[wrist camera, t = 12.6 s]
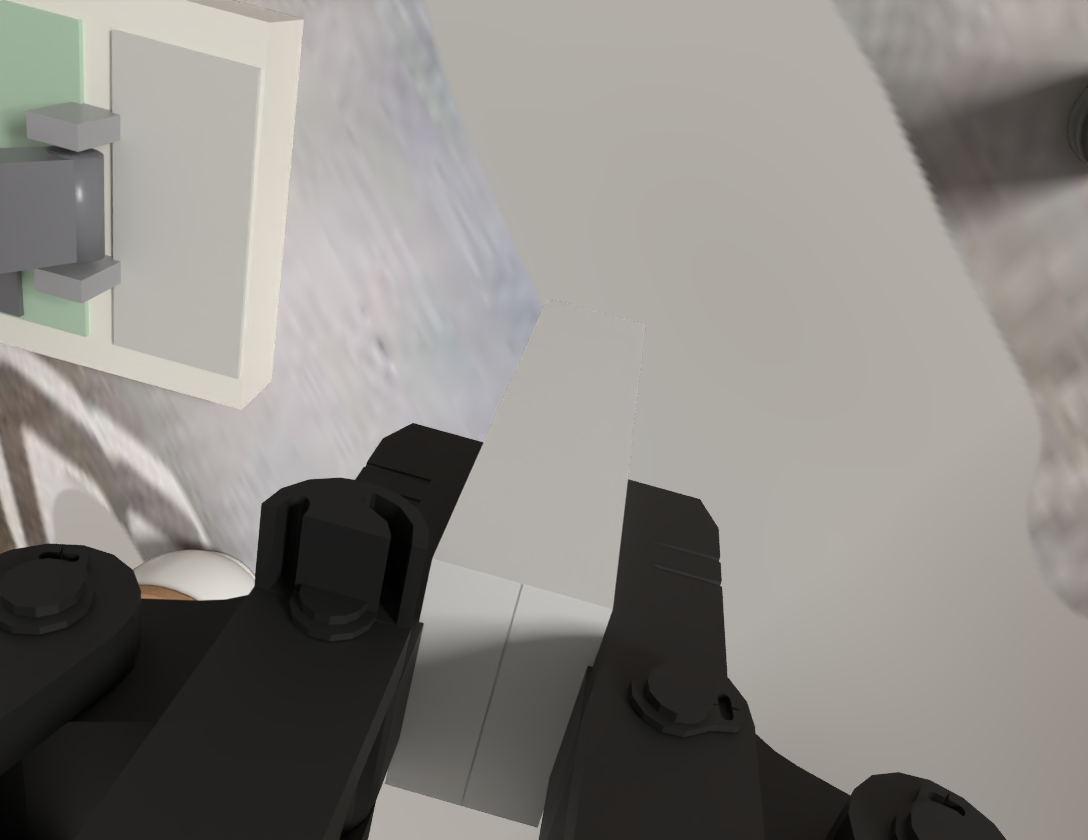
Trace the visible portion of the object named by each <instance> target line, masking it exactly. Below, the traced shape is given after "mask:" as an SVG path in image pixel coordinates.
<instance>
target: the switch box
mask: <svg viewBox="0 0 1088 840" xmlns="http://www.w3.org/2000/svg"><path fill="white" fill-rule="evenodd" d="M303 26H304V19H300V18H297V17H293V16H289V15H285V14H282V13H278V12H274V11H270V10H267V9H263V8H259V7H255V6H251V5H248V4H244V3H240V2H236V1H233V0H0V148H18V147H44V146H51V145H55V146H58V147H62V148H66V149H69V150H73V151H77V152H79V151H83V150H87V149H90V148H92V149H95V150H98V151H100V152H102V153H103V154H104V213H105V257H104V258H103V259H101V260H99V261H95V262H88V263H70V264H63V265H57V266H50V267H43V268H37V269H30V270H23V271H16V272H10V273H3V274H0V343H3V344H7V345H10V346H14V347H17V348H21V349H25V350H28V351H32V352H35V353H39V354H43V355H46V356H50V357H53V358H57V359H61V360H64V361H68V362H71V363H75V364H79V365H82V366H86V367H90V368H93V369H97V370H100V371H104V372H108V373H111V374H115V375H118V376H122V377H126V378H129V379H133V380H136V381H140V382H144V383H147V384H151V385H154V386H158V387H162V388H165V389H169V390H172V391H176V392H180V393H183V394H187V395H190V396H194V397H198V398H201V399H205V400H208V401H212V402H216V403H219V404H223V405H227V406H230V407H234V408H237V409H242V408H244V407H245V406H246V405H247V404H248V403H249V402H250V401H251V400H252V399H253V398H254V397H255V396H256V395H257V394H258V393H259V392H260V391H261V390H262V389H263V388H264V387H265V386H267V385H268V384H269V383H270V382H271V381H272V373H273V361H274V350H275V339H276V328H277V317H278V306H279V294H280V283H281V272H282V261H283V250H284V238H285V227H286V216H287V205H288V194H289V182H290V171H291V160H292V149H293V138H294V127H295V115H296V104H297V93H298V82H299V71H300V59H301V48H302V37H303Z"/></svg>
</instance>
